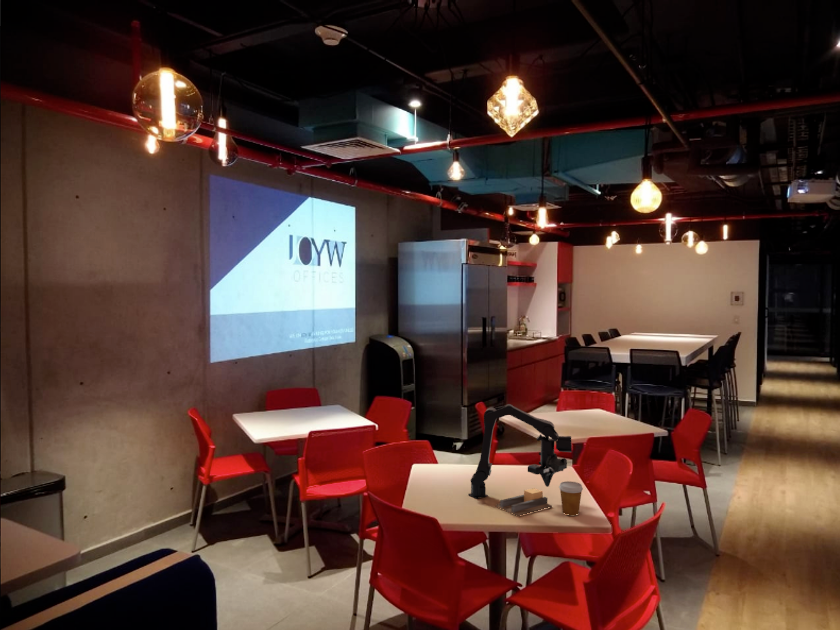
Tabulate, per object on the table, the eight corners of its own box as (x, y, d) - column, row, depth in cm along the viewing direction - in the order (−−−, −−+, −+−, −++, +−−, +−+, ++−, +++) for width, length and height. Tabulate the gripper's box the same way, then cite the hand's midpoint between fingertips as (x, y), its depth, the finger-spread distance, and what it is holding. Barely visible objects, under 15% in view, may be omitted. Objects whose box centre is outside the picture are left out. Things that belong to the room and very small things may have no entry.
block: (524, 502, 252) (524, 490, 252) (534, 499, 255) (534, 488, 255) (532, 505, 248) (532, 493, 248) (542, 502, 251) (542, 491, 251)
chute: (495, 506, 249) (495, 498, 249) (528, 498, 260) (528, 490, 259) (518, 516, 237) (518, 508, 237) (551, 507, 248) (551, 499, 248)
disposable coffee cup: (585, 512, 242) (586, 483, 242) (578, 519, 235) (578, 489, 234) (563, 507, 248) (563, 479, 248) (555, 514, 240) (555, 485, 240)
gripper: (545, 457, 244) (545, 495, 244) (576, 451, 254) (576, 487, 254) (526, 452, 253) (526, 488, 254) (557, 446, 263) (557, 481, 264)
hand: (547, 486), depth 256 cm, fingers closed
